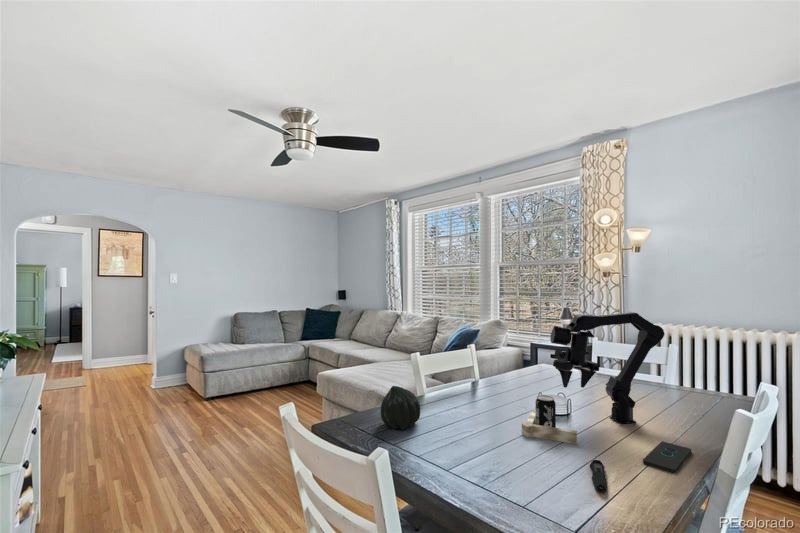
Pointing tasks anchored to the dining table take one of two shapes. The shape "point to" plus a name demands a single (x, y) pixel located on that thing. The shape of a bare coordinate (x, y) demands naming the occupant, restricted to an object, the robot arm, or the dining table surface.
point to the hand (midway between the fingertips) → (573, 387)
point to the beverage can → (545, 411)
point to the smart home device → (667, 457)
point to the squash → (400, 408)
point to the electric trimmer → (598, 475)
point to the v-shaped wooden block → (547, 431)
